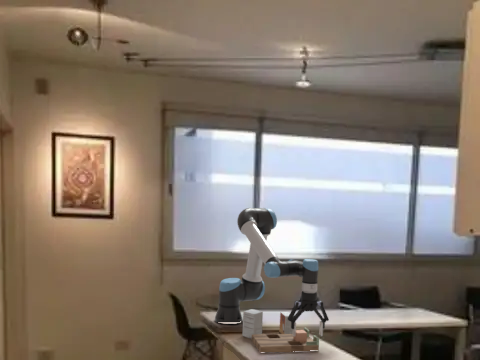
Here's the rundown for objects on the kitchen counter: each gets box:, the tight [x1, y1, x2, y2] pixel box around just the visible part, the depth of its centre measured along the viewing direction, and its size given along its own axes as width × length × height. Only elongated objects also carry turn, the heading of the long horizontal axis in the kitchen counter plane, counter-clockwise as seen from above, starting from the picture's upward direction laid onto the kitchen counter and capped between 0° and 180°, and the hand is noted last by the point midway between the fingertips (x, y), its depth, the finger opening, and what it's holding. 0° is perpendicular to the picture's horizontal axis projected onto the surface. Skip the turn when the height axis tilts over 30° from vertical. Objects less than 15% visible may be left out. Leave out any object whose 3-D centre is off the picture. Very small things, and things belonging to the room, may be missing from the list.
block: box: [293, 329, 307, 342], centre depth 237 cm, size 5×5×4 cm
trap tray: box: [251, 327, 320, 353], centre depth 236 cm, size 18×28×6 cm, turn 102°
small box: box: [278, 311, 294, 334], centre depth 255 cm, size 8×6×10 cm
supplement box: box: [242, 308, 264, 340], centre depth 249 cm, size 7×7×13 cm
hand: (307, 335), depth 239 cm, fingers open, 13 cm apart
